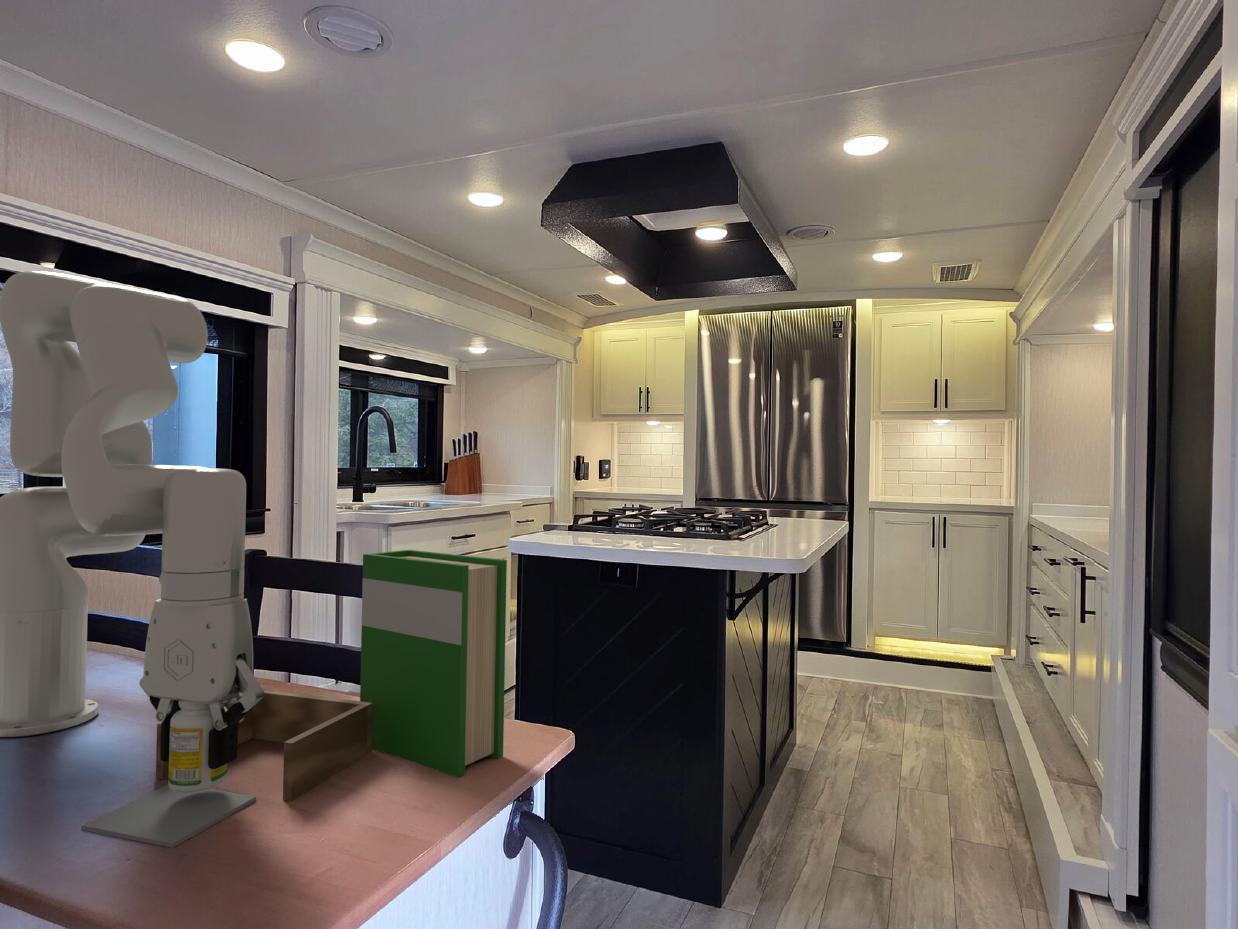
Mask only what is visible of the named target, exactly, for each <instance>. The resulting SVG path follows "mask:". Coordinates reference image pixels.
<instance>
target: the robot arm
mask: <svg viewBox="0 0 1238 929" xmlns="http://www.w3.org/2000/svg"><path fill="white" fill-rule="evenodd" d="M0 329H1V332H2V336H3V337H2V338H3V340H4V343H5V345H6V348H7V349H6V350H7V351H8V355H9V359H10V364H11V368H12V389H11V390H12V391H11V409H10V411H11V412H10V431H9V432H10V434H9V451H10V452H9V453H10V458H11V463H12V464H13V466H14V468H16V470H18V471H19V472H21V473H23V474H25V475H30V476H34V477H35V476H36V477H50V478H63V480H64V483H65V486H33V487H25V488H20V489H19V488H18V489H16V490H15V489H14V490H12V491H10V492H7V493H5V494H3V495H2V496H0V738H14V737H15V738H16V737H27V736H35V735H41V734H47V733H48V734H49V733H51V732H52V733H53V732H56V731H60V730H65V729H68V728H71V727H75V726H78V725H81V724H83V723H86V722H87V721H90V720H91V719H93V718H95V717H96V716H97V715H98V714H99V710H100V709H99V708H100V705H99V702H97V701H95V700H92V699H87V698H86V687H87V685H86V682H87V653H88V652H87V651H88V650H87V648H88V647H87V645H88V644H87V643H88V610H89V609H88V607H89V606H88V603H89V602H88V600H89V599H88V596H89V592H88V587H87V584H86V581H85V580H84V578H83V577H82V576H81V575H80V574H79V573H78V571H77V570H76V569H75V568H74V567H73V566H71V564H70V563H69V562H68V560H67V558H69V557H77V556H83V555H98V554H99V555H100V554H111V553H121V552H127V551H130V550H133V549H135V548H137V547H138V546H140V544H142V542H143V541H144V539H145V536H147V535H157V534H162V539H161V540H162V542H161V544H162V545H161V572H160V573H161V574H160V575H159V577H158V582H159V584H160V598H158V599H156V600H155V601H154V604H153V608H152V611H151V614H150V619H149V624H148V629H147V635H146V642H145V648H144V649H145V652H144V661H143V673H142V674H143V676H142V677H141V678H140V680H139V686H140V688H141V689H142V691H143V692H144V693H145V695H146V696H147V697H149V702H150V704H151V705H152V706H153V708H154V710H155V711H156V712H155V719H156V721H158V722H159V723H161V722H162V723H161V743H160V760H161V761H169V744H170V721H171V718H172V717H173V715H174V714H175V713H176V712H178V711H179V710H181V708H180V707H179V704H178V703H179V701H186V702H194V703H203V704H209V705H210V709H211V714H212V718H213V722H214V726H215V728H214V729H211V730H210V732H209V749H208V767H209V768H210V769H217V768H219V767H221V766H223V765H225V764H227V763H231V762H233V761H235V760H236V759H237V758H238V750H239V749H238V748H239V747H238V746H239V745H238V723H239V722H241V721H243V720H244V716H245V715H246V714H247V713H248V712H249V711H250V710H251V709H252V707H253V706H254V705H256V704H257V703H258V702H259V701H260V700H261V699H262V698H263V697H264V695H265V694H264V691H263V690H264V689H263V687H262V686H261V684H260V683H259V681H258V680H257V678H256V677H255V675H254V673H253V672H254V646H253V645H254V644H253V632H252V631H253V629H252V621H251V614H250V609H249V604H248V598H244V596H245V595H244V594H245V593H244V592H245V558H246V557H245V555H246V553H245V551H246V550H245V549H246V548H245V547H246V518H247V516H246V513H247V512H246V511H247V481H246V478H245V476H244V475H243V474H242V473H241V472H240V471H238V470H235V469H230V468H216V467H215V468H212V467H211V468H209V467H205V466H198V465H173V464H172V465H171V464H169V465H167V464H153V442H152V441H153V440H152V437H151V433H150V431H149V428H148V427H147V425H146V423H145V422H144V421H146V420H149V419H152V418H154V417H157V416H159V415H161V414H162V413H164V412H166V411H167V410H168V409H169V408H171V407H172V406H173V405H174V403H175V402H176V400H177V399H178V394H179V387H178V382H177V380H176V377H175V375H174V372H173V369H172V368H173V367H172V365H171V363H178V364H190V363H193V362H196V361H197V360H198V359H200V358H201V357H202V355H204V353H205V351H206V348H207V344H208V337H209V336H208V335H209V334H208V326H207V323H206V320H205V317H204V315H203V314H202V312H201V311H200V309H199V308H198V307H197V306H196V305H195V304H194V303H193V302H191V301H190V300H188V299H185V298H181V297H178V296H173V295H168V294H164V293H163V294H162V293H158V292H153V291H149V290H143V289H139V288H134V287H129V286H124V285H119V284H117V285H116V284H112V283H107V282H103V281H98V280H95V279H90V278H85V277H81V276H77V275H76V276H75V275H71V274H70V275H69V274H65V273H57V272H50V271H38V270H29V271H28V270H27V271H21V272H18V273H15V274H12V275H11V276H10V277H8V279H7V280H6V281H5V283H4V285H3V286H2V290H1V292H0ZM71 343H75V344H76V346H77V349H78V351H77V349H76V348H75V347H74V346H73V345H72V344H71ZM239 693H242V697H241V698H240V695H239ZM225 701H227V702H228V707H229V709H228V710H227V711H226V712H225V709H224V705H223V702H225Z"/></svg>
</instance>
